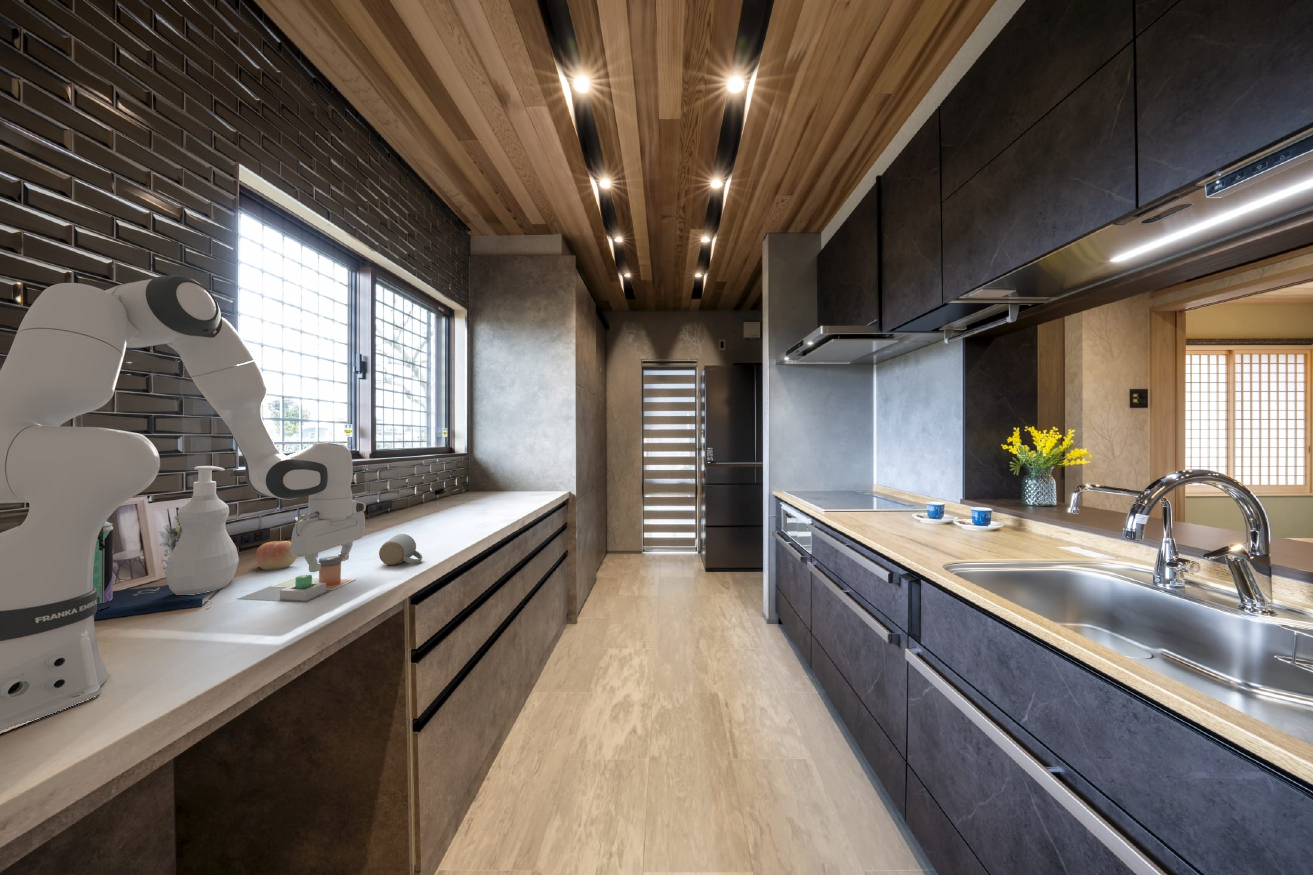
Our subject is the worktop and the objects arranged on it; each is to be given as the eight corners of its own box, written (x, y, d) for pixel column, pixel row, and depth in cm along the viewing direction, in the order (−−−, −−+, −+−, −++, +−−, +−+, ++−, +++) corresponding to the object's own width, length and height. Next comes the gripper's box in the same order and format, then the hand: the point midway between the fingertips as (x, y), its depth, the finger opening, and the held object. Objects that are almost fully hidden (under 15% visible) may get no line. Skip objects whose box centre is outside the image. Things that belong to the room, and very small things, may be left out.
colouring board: (306, 607, 105) (306, 593, 105) (236, 604, 106) (236, 589, 106) (356, 584, 121) (356, 571, 121) (295, 581, 122) (295, 568, 122)
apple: (255, 577, 125) (255, 546, 124) (255, 568, 131) (256, 539, 131) (297, 571, 130) (297, 542, 130) (295, 563, 137) (296, 535, 137)
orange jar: (332, 586, 115) (332, 561, 115) (313, 585, 115) (313, 560, 115) (345, 580, 120) (345, 556, 120) (327, 579, 120) (328, 555, 120)
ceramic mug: (376, 566, 137) (377, 539, 137) (389, 558, 145) (390, 533, 145) (415, 567, 138) (416, 540, 137) (426, 559, 146) (427, 534, 146)
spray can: (120, 604, 104) (120, 512, 104) (87, 614, 99) (88, 516, 98) (97, 603, 105) (98, 510, 104) (64, 612, 99) (65, 515, 99)
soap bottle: (215, 602, 107) (216, 469, 106) (147, 607, 103) (149, 469, 102) (250, 579, 123) (252, 463, 122) (193, 582, 119) (194, 463, 118)
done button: (304, 589, 108) (304, 579, 108) (291, 589, 108) (292, 578, 108) (315, 585, 111) (315, 575, 111) (302, 584, 111) (302, 574, 111)
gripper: (310, 517, 106) (308, 579, 107) (370, 503, 127) (369, 555, 127) (282, 515, 107) (281, 578, 107) (347, 502, 127) (346, 554, 127)
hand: (329, 565), depth 117 cm, fingers open, 8 cm apart
